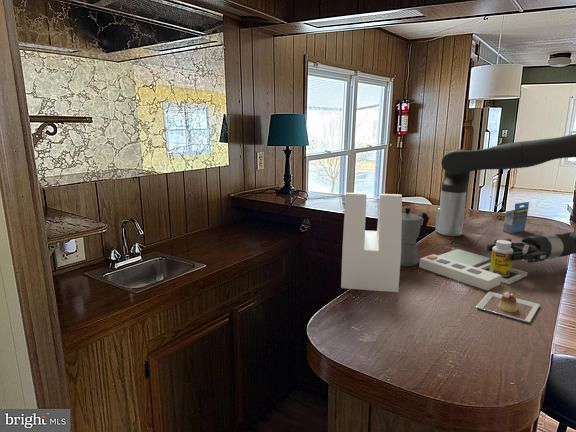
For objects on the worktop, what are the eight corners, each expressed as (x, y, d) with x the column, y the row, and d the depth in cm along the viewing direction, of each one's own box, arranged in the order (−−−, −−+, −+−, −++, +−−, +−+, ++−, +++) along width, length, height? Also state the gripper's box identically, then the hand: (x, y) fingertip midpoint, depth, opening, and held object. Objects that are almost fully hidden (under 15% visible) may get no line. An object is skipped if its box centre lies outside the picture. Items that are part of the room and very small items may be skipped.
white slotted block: (398, 292, 112) (404, 202, 106) (341, 288, 115) (344, 200, 109) (393, 267, 131) (399, 189, 124) (344, 264, 133) (347, 187, 127)
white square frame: (472, 272, 126) (472, 268, 126) (491, 264, 132) (491, 261, 132) (508, 284, 117) (509, 280, 117) (527, 275, 124) (527, 271, 123)
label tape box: (516, 228, 174) (520, 199, 171) (525, 230, 170) (529, 201, 167) (502, 231, 170) (506, 201, 167) (511, 233, 166) (515, 203, 163)
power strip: (419, 267, 130) (419, 257, 130) (437, 260, 136) (438, 251, 135) (487, 290, 113) (488, 279, 112) (504, 282, 119) (506, 271, 118)
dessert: (539, 308, 104) (542, 290, 103) (529, 326, 95) (532, 307, 94) (488, 295, 112) (490, 278, 111) (474, 310, 103) (476, 293, 102)
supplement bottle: (490, 276, 123) (494, 243, 120) (487, 269, 128) (491, 238, 126) (511, 278, 121) (516, 245, 119) (507, 271, 127) (512, 239, 124)
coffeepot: (397, 269, 129) (401, 212, 124) (378, 259, 137) (381, 206, 132) (435, 261, 135) (440, 207, 130) (415, 253, 143) (419, 202, 139)
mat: (437, 257, 139) (437, 255, 139) (457, 250, 146) (457, 248, 146) (470, 267, 130) (470, 266, 130) (490, 259, 137) (490, 258, 137)
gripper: (524, 229, 133) (482, 233, 128) (564, 242, 120) (519, 247, 115) (521, 251, 135) (480, 256, 130) (560, 267, 121) (516, 273, 117)
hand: (498, 252), depth 123 cm, fingers open, 8 cm apart
